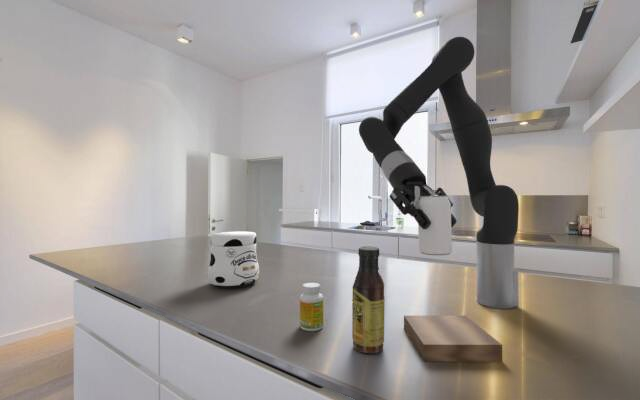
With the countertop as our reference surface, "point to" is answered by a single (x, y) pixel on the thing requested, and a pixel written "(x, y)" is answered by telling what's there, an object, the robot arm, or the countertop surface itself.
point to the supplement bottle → (311, 307)
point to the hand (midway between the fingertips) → (440, 225)
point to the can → (436, 226)
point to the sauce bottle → (368, 303)
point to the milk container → (233, 259)
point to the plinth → (451, 339)
